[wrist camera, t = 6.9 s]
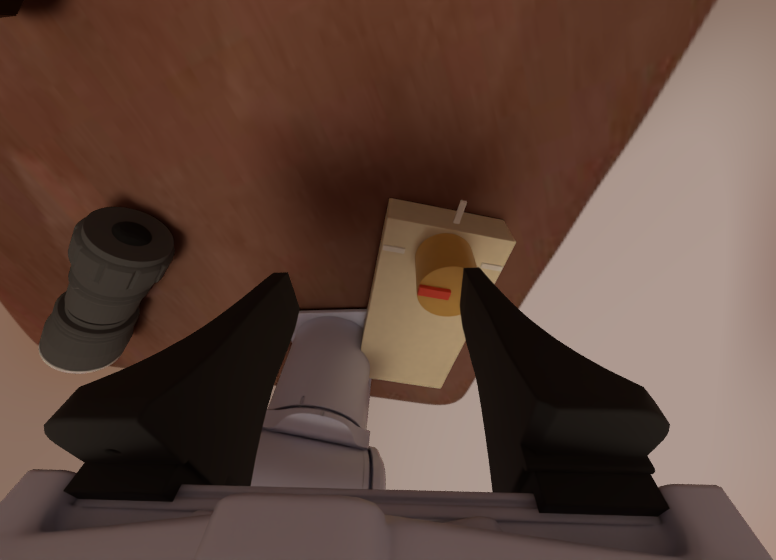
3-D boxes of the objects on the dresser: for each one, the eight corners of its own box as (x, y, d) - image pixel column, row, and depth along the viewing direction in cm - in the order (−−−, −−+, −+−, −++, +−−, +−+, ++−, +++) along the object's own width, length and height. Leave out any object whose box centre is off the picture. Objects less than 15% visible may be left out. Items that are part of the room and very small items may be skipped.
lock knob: (480, 238, 18) (495, 276, 15) (461, 284, 21) (471, 325, 18) (422, 227, 18) (426, 264, 15) (409, 275, 20) (410, 315, 17)
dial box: (437, 362, 31) (440, 390, 28) (358, 350, 30) (354, 377, 27) (516, 193, 20) (532, 214, 17) (395, 168, 19) (393, 187, 17)
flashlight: (117, 187, 21) (43, 223, 16) (196, 235, 23) (148, 279, 18) (76, 308, 28) (17, 355, 24) (138, 336, 30) (94, 384, 26)
